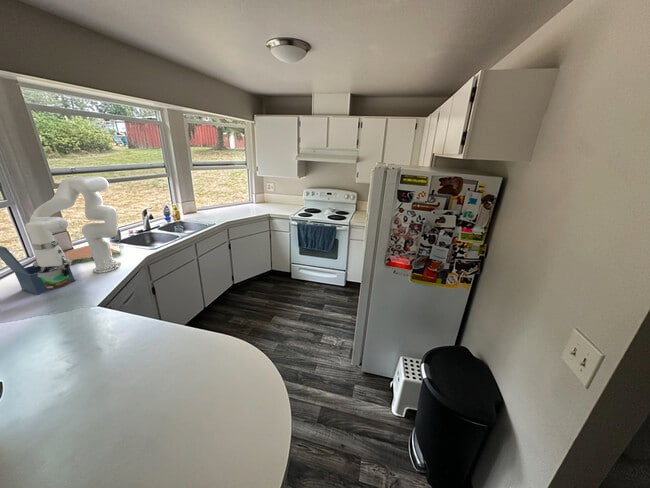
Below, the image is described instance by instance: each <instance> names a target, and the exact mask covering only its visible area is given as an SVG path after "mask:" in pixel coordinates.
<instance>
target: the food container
mask: <svg viewBox="0 0 650 488" xmlns="http://www.w3.org/2000/svg"><path fill="white" fill-rule="evenodd" d="M63 266H64V265H63ZM64 267H65V266H64ZM62 270H63V269H62V268H61V267H60V266H59V267H56V268H53V269H50V270H48V271H46V272H44V273H38V277H40V278H41V280H42V281H43V283H44V284H45V286H46V287H47V289H52V290H54V289H55V290H56V289H60V288H63V287H65V286H68V285H69V284H71V282H70V280H69V276H66V277H65V276H64V274H63V272H62Z"/></svg>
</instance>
